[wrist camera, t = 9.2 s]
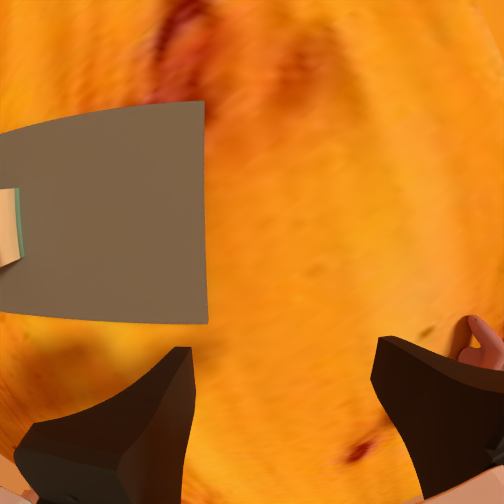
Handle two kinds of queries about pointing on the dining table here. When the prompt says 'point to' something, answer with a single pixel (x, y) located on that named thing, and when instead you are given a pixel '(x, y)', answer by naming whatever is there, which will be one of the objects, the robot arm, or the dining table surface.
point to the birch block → (10, 227)
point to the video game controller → (483, 346)
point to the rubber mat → (110, 216)
